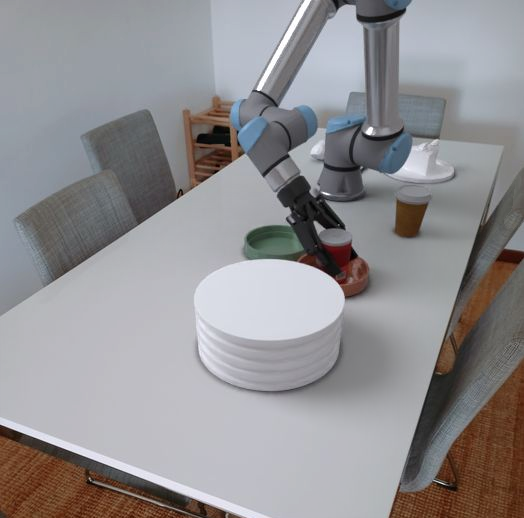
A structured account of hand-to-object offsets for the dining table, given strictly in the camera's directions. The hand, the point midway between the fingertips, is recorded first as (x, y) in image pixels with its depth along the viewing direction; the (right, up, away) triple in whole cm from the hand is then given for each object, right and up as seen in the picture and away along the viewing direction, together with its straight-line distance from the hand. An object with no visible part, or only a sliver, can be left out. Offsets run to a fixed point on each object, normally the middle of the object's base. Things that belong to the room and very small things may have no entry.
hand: (345, 266), depth 118 cm
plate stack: (-18, -18, -16) cm, 30 cm away
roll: (+4, +58, +75) cm, 95 cm away
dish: (+36, +45, +64) cm, 86 cm away
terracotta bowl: (-3, -2, +4) cm, 6 cm away
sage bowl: (-15, +7, +15) cm, 23 cm away
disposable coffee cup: (+21, +13, +25) cm, 35 cm away
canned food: (-3, -2, +4) cm, 5 cm away
